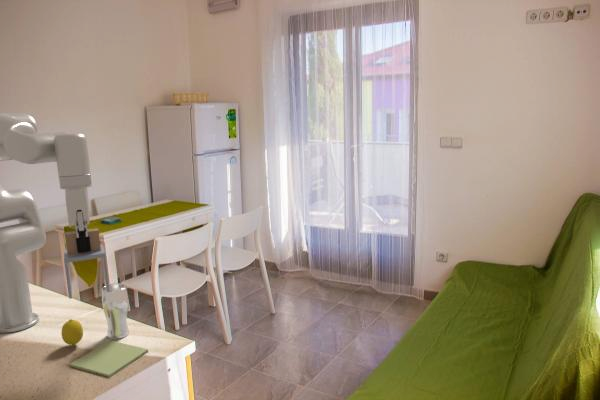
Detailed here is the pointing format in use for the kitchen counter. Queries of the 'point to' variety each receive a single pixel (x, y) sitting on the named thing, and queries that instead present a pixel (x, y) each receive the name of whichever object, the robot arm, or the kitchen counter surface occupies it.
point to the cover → (83, 254)
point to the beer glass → (116, 310)
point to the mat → (109, 358)
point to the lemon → (72, 332)
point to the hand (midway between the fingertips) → (84, 249)
